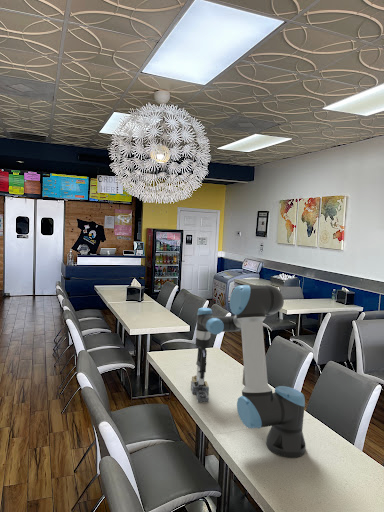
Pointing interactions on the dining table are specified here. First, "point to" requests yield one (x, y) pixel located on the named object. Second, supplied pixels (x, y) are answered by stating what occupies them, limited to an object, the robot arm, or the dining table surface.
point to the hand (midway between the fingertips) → (200, 381)
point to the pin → (198, 373)
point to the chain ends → (200, 390)
